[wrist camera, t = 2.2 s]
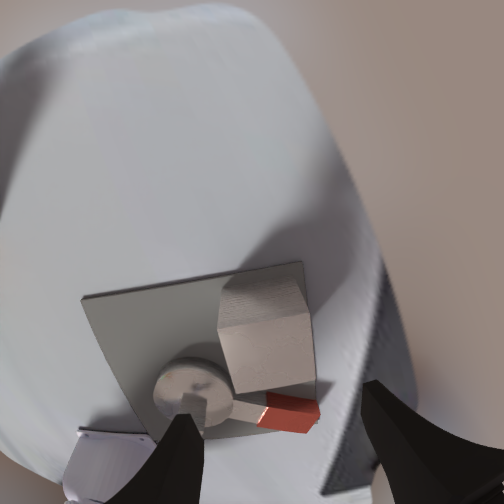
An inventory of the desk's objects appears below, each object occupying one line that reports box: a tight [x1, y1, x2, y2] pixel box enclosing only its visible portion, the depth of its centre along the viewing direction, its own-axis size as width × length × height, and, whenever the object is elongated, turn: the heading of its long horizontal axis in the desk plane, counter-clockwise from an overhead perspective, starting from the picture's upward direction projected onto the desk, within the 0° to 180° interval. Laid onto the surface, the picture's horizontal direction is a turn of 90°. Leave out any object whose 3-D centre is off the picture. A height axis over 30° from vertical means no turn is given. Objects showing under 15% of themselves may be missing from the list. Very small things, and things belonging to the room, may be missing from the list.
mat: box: [80, 261, 318, 441], centre depth 21 cm, size 16×16×1 cm
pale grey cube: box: [217, 275, 316, 394], centre depth 17 cm, size 5×5×5 cm
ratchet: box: [153, 357, 321, 436], centre depth 20 cm, size 13×6×5 cm, turn 70°
